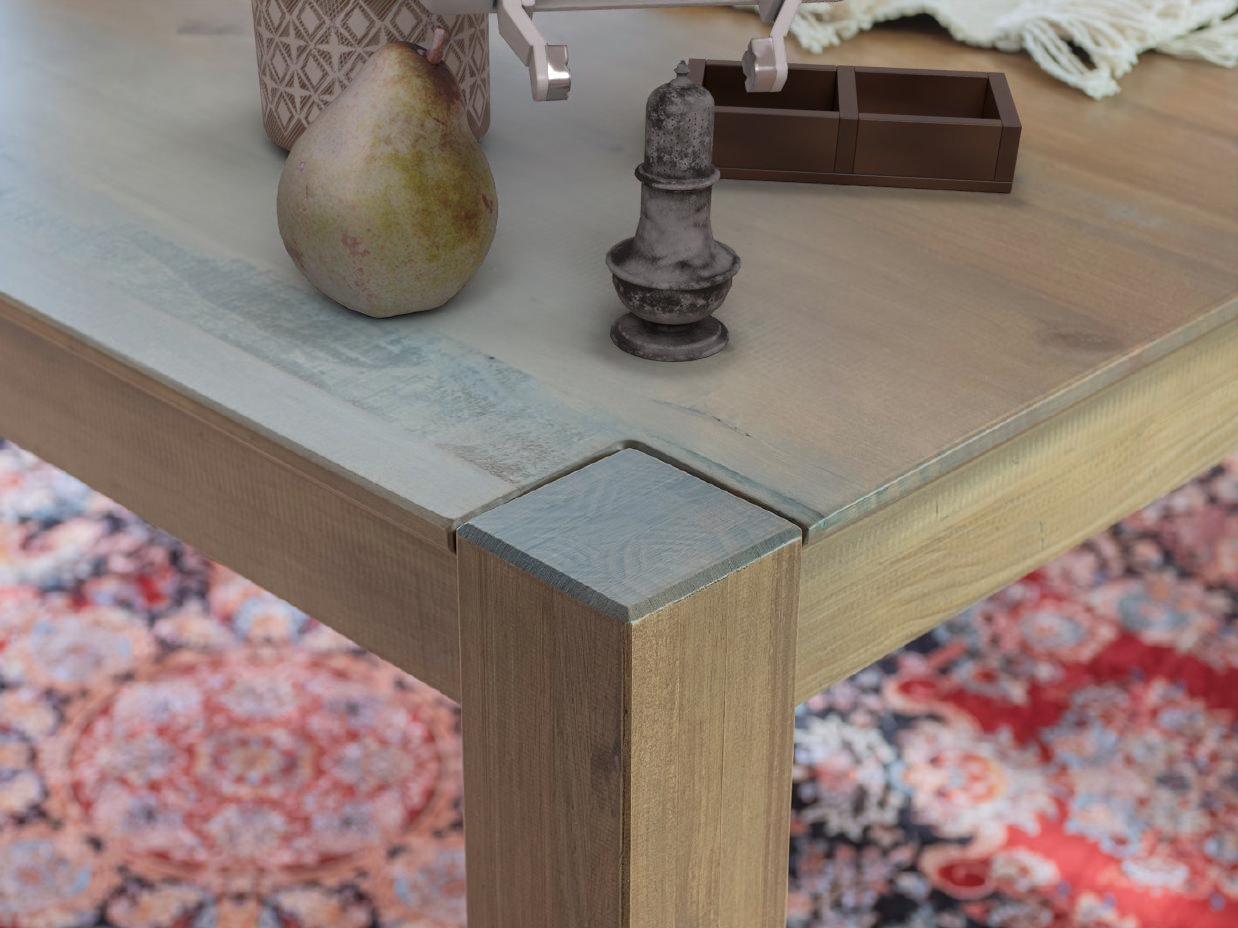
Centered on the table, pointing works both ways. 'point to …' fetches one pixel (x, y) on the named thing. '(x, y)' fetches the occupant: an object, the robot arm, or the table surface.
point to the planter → (354, 55)
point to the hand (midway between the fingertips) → (661, 90)
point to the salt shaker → (674, 235)
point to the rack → (865, 126)
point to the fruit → (390, 187)
